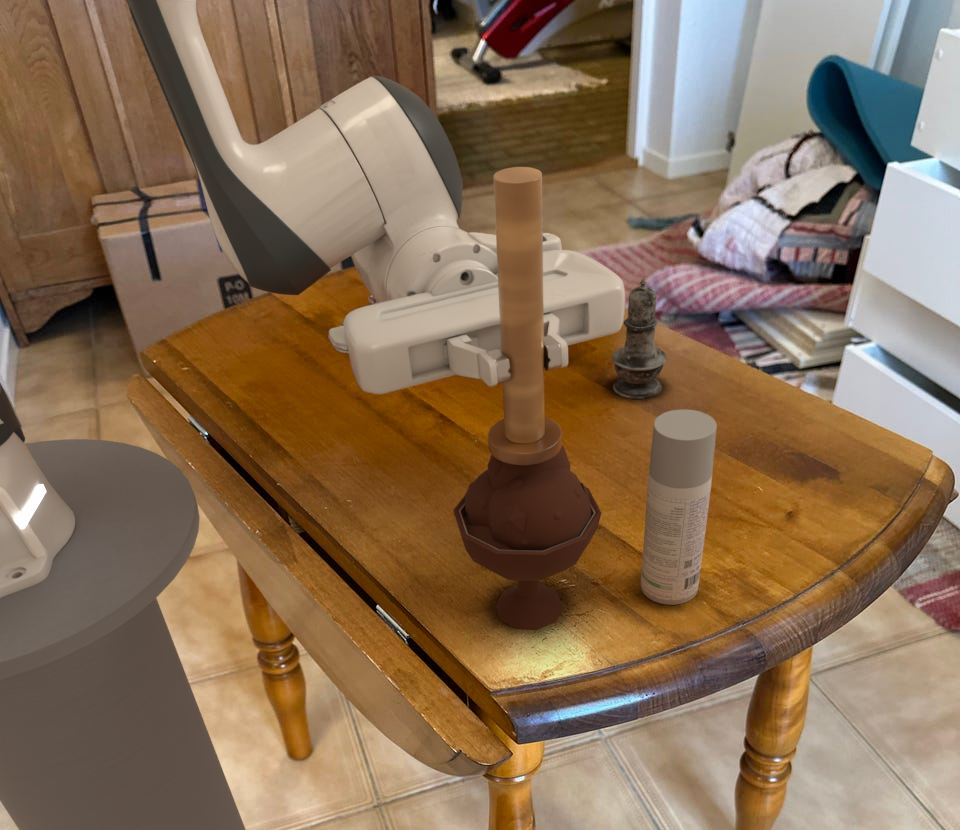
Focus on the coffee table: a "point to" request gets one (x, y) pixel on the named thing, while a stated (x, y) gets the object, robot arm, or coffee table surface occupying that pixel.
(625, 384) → the salt shaker
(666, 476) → the container
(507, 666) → the coffee table surface
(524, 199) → the stirring stick
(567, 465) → the ice cream bowl
